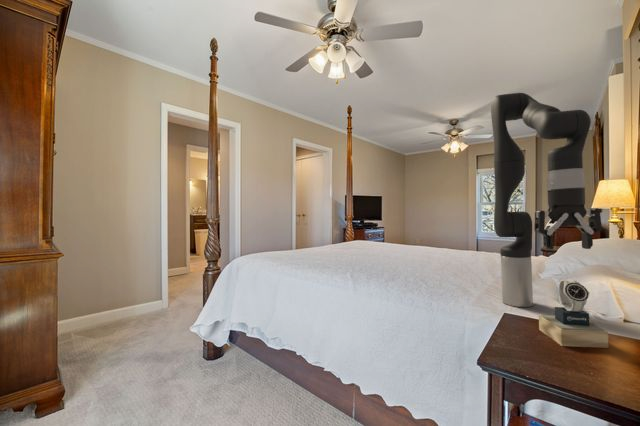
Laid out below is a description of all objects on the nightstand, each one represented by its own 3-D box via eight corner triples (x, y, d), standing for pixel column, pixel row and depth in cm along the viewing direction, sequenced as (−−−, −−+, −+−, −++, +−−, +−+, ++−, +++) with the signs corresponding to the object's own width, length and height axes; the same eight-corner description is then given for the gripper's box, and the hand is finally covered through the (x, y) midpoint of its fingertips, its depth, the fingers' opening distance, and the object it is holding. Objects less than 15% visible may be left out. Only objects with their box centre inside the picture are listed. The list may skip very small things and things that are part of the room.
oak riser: (539, 329, 82) (538, 314, 82) (579, 331, 80) (579, 315, 80) (561, 346, 72) (561, 328, 72) (608, 347, 70) (607, 330, 70)
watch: (567, 327, 73) (565, 283, 73) (551, 316, 81) (550, 276, 81) (594, 328, 71) (592, 284, 71) (576, 317, 79) (574, 277, 79)
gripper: (586, 187, 78) (588, 246, 79) (527, 189, 81) (530, 247, 81) (608, 184, 71) (610, 250, 71) (543, 188, 74) (545, 251, 74)
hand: (567, 248), depth 76 cm, fingers open, 8 cm apart
